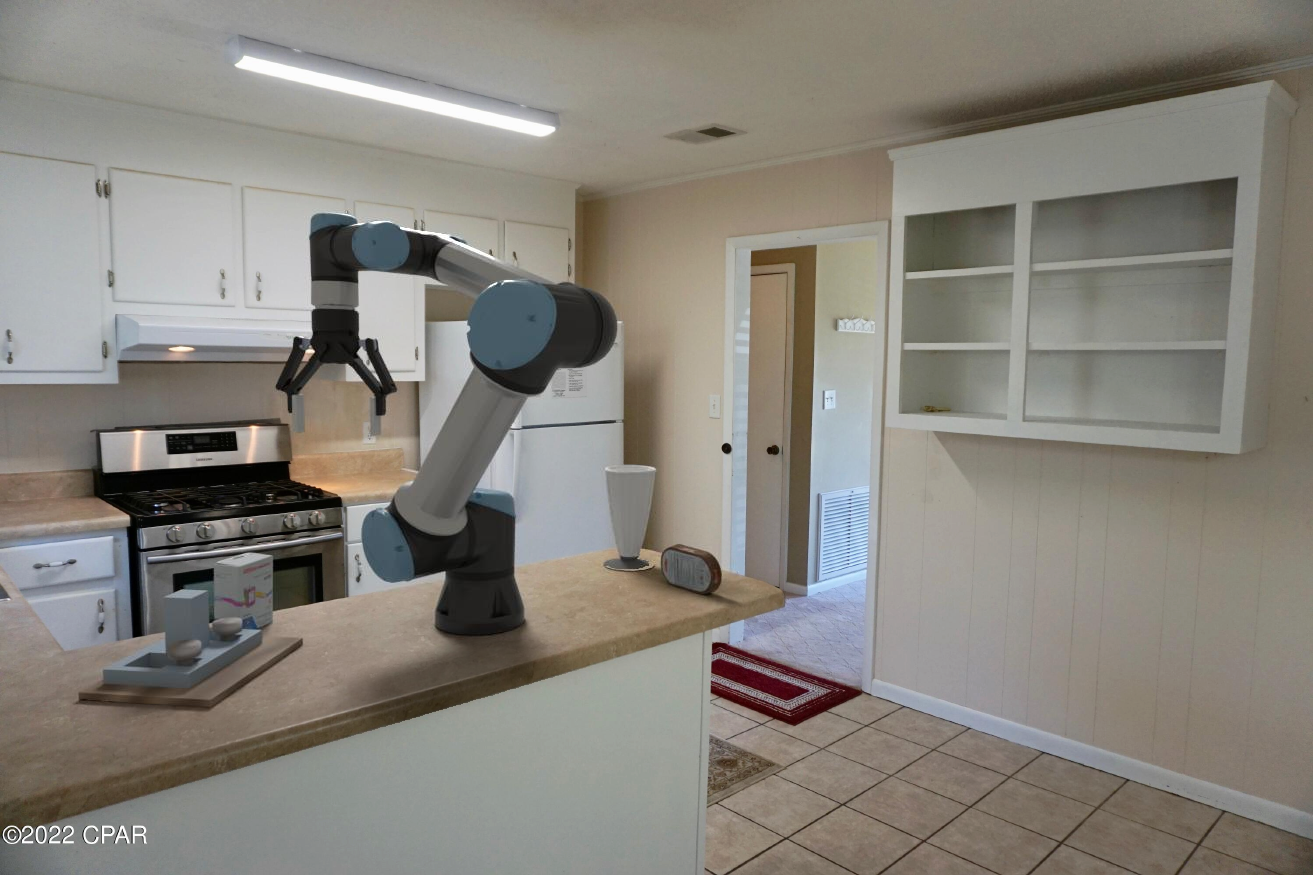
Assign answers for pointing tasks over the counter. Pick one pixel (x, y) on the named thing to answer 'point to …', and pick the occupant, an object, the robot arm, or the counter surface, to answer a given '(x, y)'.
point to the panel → (179, 673)
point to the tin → (691, 569)
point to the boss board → (209, 687)
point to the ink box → (244, 589)
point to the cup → (629, 511)
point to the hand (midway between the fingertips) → (337, 434)
